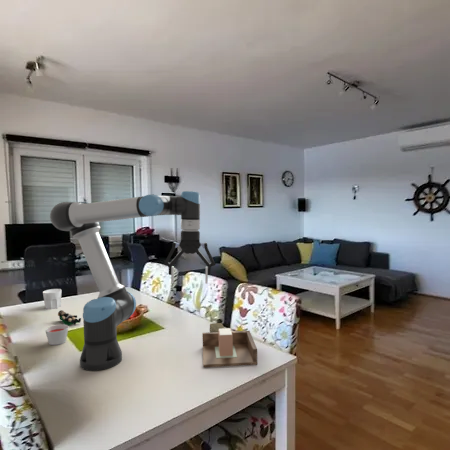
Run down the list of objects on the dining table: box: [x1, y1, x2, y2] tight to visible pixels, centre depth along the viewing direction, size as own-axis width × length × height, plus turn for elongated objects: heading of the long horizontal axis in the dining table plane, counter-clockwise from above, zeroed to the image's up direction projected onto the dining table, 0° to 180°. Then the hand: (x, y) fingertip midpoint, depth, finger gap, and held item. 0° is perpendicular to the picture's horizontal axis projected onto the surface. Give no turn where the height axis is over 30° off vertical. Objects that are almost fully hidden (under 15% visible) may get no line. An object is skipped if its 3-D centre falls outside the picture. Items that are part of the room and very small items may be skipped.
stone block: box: [209, 322, 225, 332], centre depth 148 cm, size 6×12×5 cm, turn 15°
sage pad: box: [215, 346, 237, 358], centre depth 130 cm, size 8×10×1 cm
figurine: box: [57, 309, 82, 327], centre depth 169 cm, size 8×6×15 cm
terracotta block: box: [218, 327, 233, 356], centre depth 130 cm, size 7×5×8 cm
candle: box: [44, 324, 69, 346], centre depth 145 cm, size 9×9×6 cm
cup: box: [42, 288, 62, 310], centre depth 196 cm, size 10×10×10 cm
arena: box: [202, 330, 258, 368], centre depth 130 cm, size 20×18×6 cm
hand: (189, 282), depth 132 cm, fingers open, 13 cm apart
